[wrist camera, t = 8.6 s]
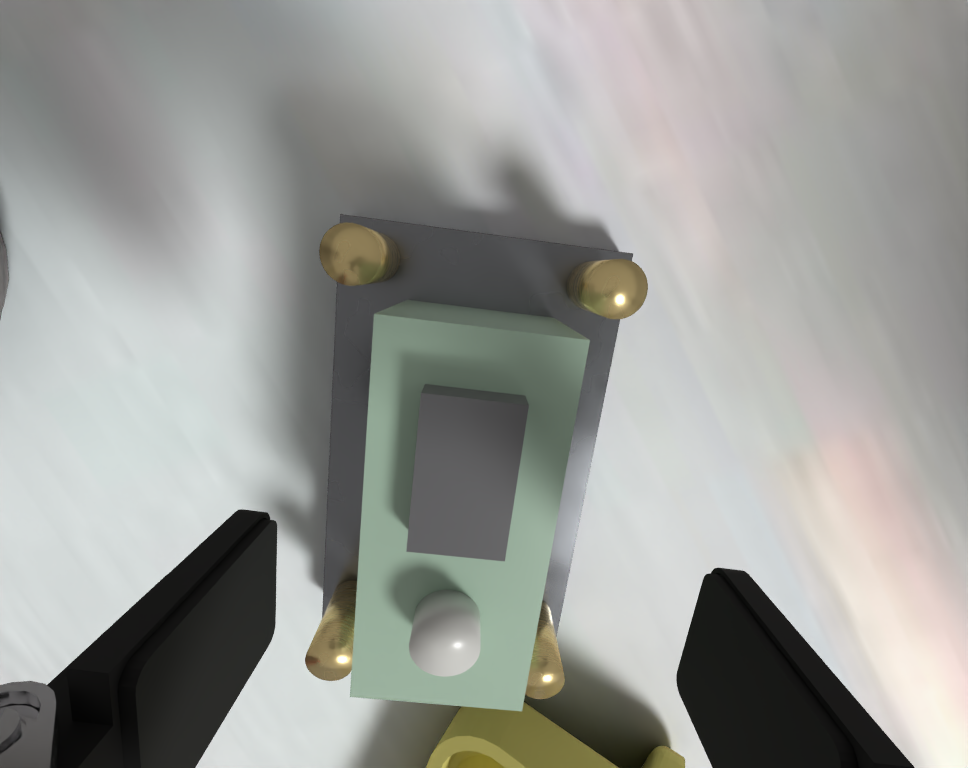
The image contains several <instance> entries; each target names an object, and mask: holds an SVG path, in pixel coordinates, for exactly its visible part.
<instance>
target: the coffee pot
mask: <svg viewBox="0 0 968 768" xmlns="http://www.w3.org/2000/svg"><path fill="white" fill-rule="evenodd" d="M8 282H9V274H8V263H7V251H6V248H5V245H4V242H3V239H2V236H1V233H0V319H1V313H2V308H3V306H4V302H5V297H6V292H7V287H8Z"/></svg>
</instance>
